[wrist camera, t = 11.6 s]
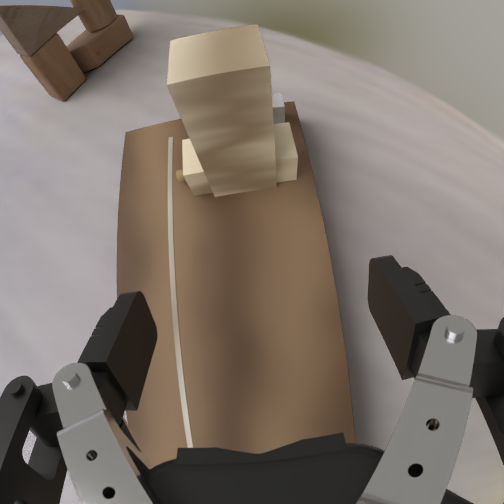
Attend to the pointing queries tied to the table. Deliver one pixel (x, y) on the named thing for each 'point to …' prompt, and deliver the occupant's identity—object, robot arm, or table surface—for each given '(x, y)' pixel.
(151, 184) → the walnut board
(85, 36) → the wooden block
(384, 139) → the table surface
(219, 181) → the beige tall blocky piece
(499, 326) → the robot arm
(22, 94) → the table surface
